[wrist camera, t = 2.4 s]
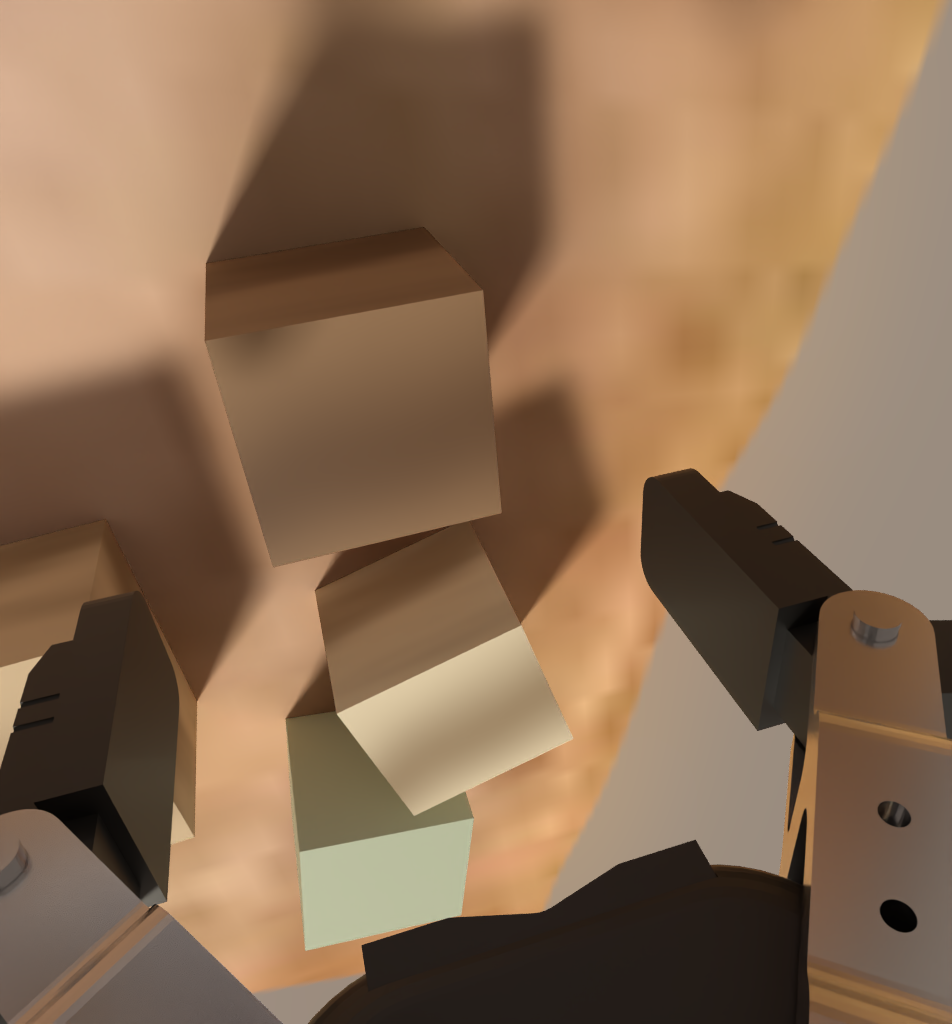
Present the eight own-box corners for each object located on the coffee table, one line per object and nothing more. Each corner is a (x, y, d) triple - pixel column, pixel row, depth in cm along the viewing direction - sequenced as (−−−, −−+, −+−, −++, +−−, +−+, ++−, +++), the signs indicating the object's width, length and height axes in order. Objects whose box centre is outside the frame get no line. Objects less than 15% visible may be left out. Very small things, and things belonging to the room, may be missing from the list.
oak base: (-189, 590, 19) (-296, 749, 15) (106, 515, 20) (80, 645, 16) (-42, 767, 23) (-95, 929, 19) (197, 697, 24) (194, 836, 20)
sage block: (285, 717, 25) (299, 852, 21) (434, 695, 27) (473, 818, 23) (291, 814, 28) (305, 950, 24) (426, 790, 29) (461, 915, 25)
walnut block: (206, 262, 17) (204, 341, 13) (423, 226, 18) (483, 290, 14) (260, 454, 20) (273, 567, 16) (446, 415, 21) (501, 513, 17)
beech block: (314, 588, 23) (336, 714, 19) (467, 516, 23) (521, 625, 19) (382, 689, 26) (414, 815, 22) (517, 624, 26) (573, 738, 22)
